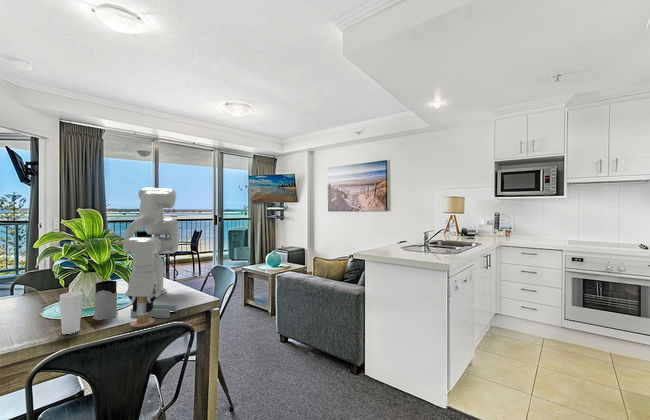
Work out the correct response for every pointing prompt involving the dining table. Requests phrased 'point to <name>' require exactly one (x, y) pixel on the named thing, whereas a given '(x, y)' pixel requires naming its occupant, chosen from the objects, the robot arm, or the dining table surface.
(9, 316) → the dining table surface
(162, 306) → the acrylic walls
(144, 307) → the sprinkles bottle
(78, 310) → the drinking glass
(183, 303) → the dining table surface
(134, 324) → the resting disc
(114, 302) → the glass holder
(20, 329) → the dining table surface
